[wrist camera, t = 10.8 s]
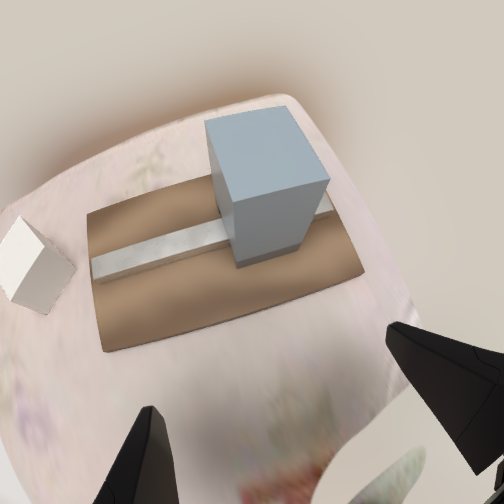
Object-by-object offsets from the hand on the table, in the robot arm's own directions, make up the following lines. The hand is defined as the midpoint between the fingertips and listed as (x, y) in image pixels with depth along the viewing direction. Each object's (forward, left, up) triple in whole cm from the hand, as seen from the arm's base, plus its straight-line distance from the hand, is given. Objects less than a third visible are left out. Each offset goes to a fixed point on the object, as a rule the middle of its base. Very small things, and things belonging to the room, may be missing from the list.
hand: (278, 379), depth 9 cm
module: (+9, -8, -13) cm, 17 cm away
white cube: (+21, +11, -14) cm, 27 cm away
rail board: (+11, -5, -14) cm, 18 cm away
